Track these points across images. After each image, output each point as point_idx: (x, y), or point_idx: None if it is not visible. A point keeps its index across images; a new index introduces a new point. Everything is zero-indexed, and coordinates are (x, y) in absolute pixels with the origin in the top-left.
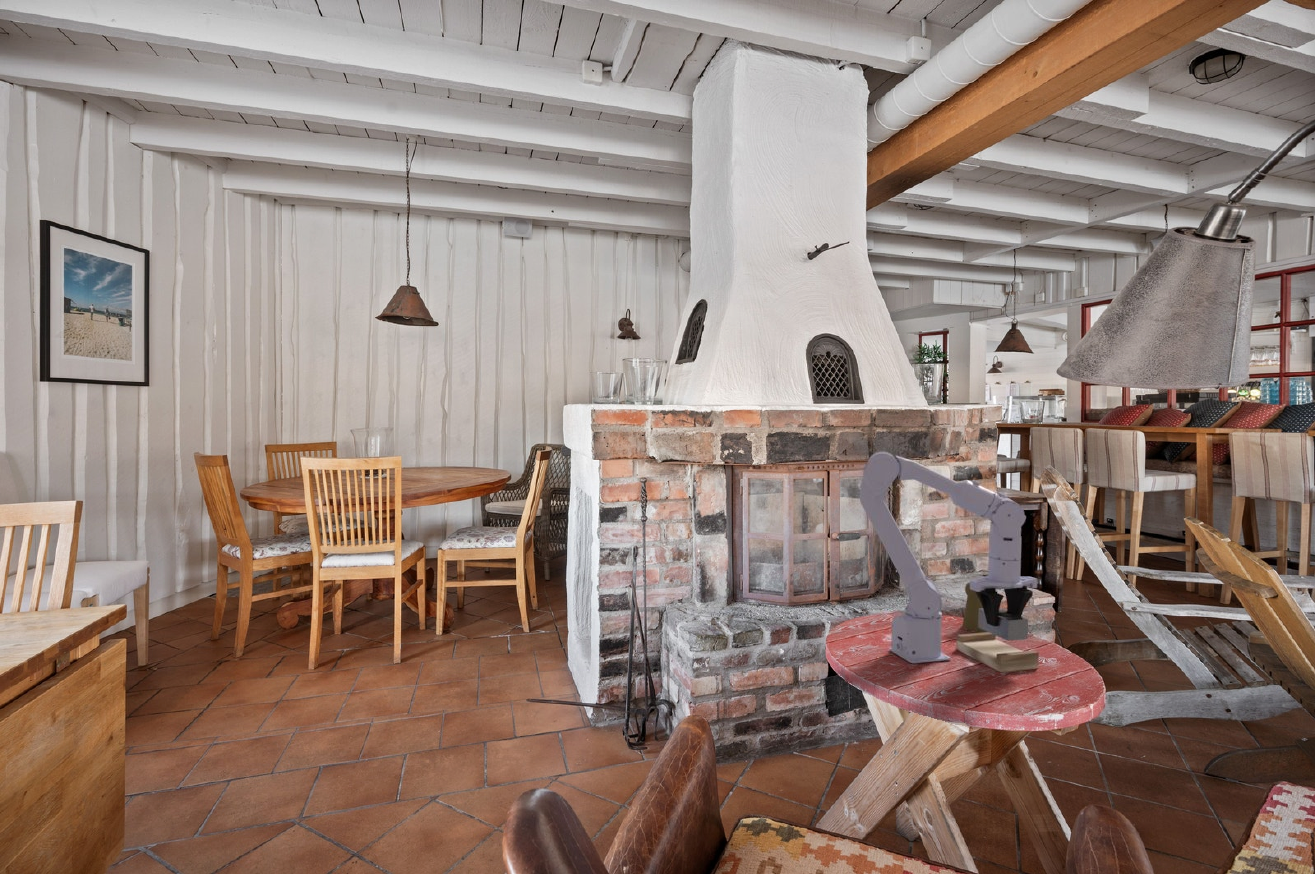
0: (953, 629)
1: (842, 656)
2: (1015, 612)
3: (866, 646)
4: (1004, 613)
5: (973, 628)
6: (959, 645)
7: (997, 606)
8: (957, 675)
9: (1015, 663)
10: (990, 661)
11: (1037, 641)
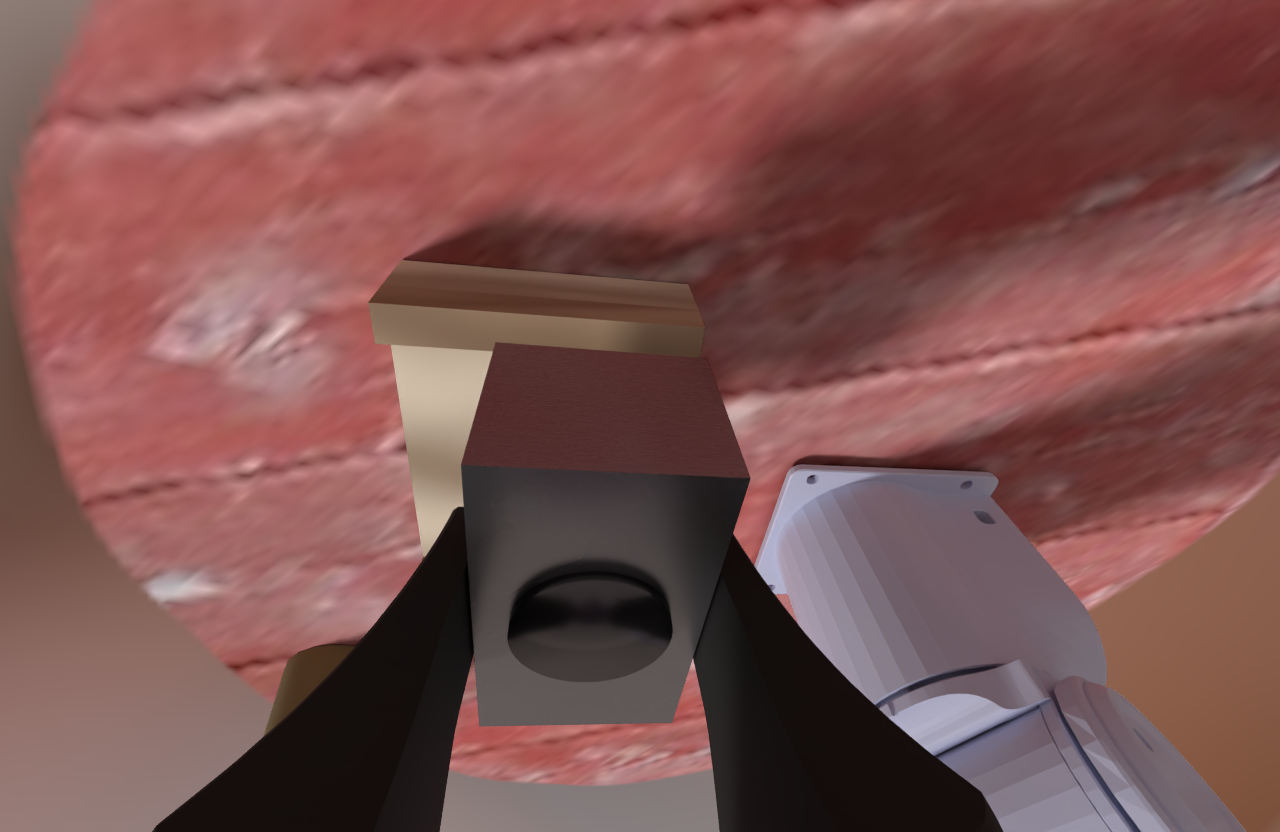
0: None
1: (1125, 575)
2: (460, 614)
3: None
4: (610, 612)
5: None
6: None
7: (800, 676)
8: (947, 320)
9: (583, 292)
10: None
11: (112, 536)
